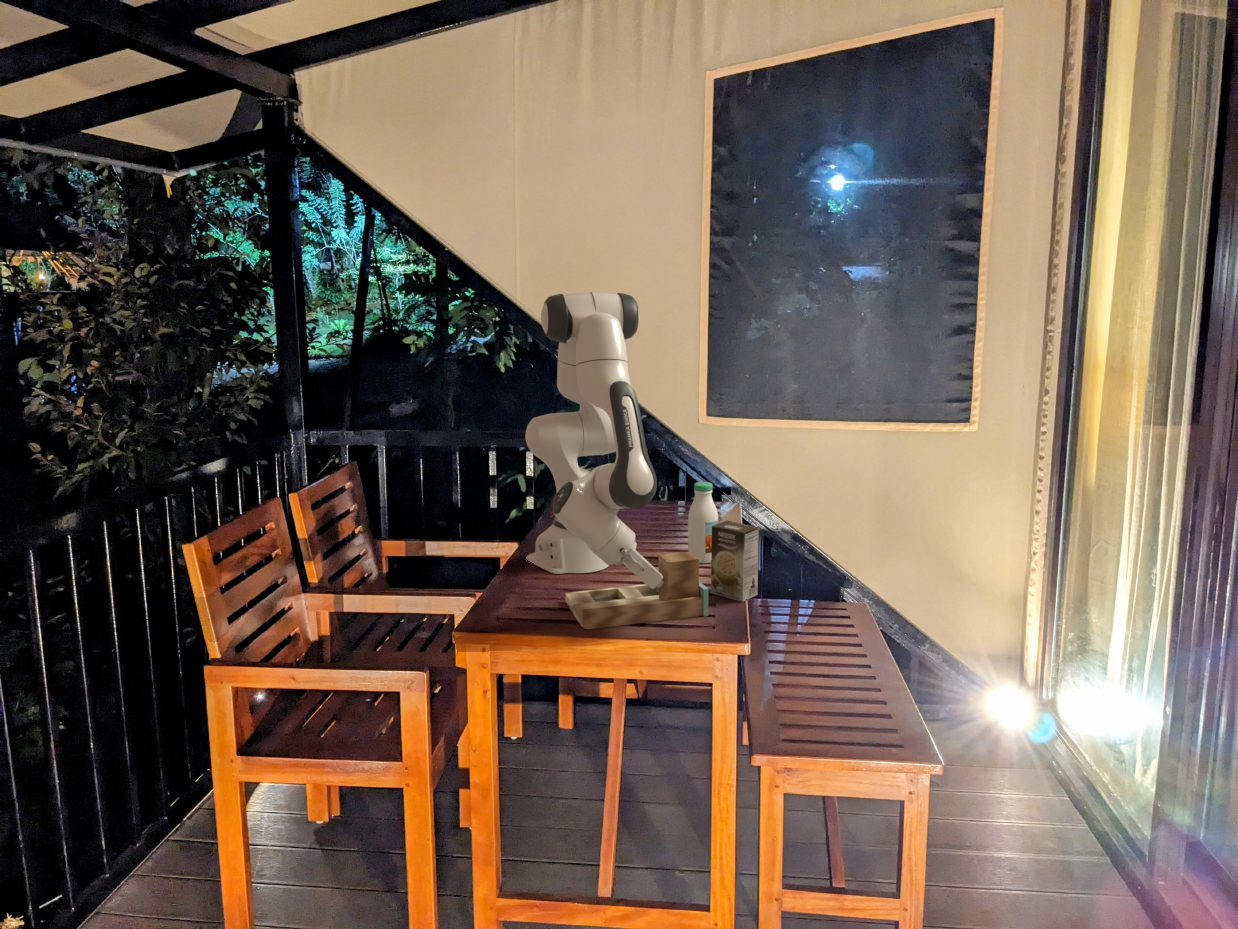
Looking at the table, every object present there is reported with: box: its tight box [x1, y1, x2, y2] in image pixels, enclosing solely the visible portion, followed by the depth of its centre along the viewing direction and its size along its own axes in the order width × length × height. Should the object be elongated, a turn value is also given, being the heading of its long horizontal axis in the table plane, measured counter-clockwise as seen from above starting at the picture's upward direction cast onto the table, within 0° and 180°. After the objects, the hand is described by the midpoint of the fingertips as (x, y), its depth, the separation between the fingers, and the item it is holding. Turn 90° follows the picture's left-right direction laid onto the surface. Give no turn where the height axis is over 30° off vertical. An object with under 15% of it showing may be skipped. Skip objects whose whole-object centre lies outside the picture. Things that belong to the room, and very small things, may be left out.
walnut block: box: [658, 551, 700, 601], centre depth 194 cm, size 7×6×10 cm
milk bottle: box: [687, 481, 719, 564], centre depth 229 cm, size 8×8×20 cm
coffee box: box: [710, 520, 760, 602], centre depth 204 cm, size 9×6×16 cm
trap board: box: [564, 583, 704, 630], centre depth 197 cm, size 26×18×4 cm
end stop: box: [699, 580, 709, 617], centre depth 200 cm, size 1×18×6 cm, turn 16°
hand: (659, 583), depth 194 cm, fingers closed, pressing on walnut block
